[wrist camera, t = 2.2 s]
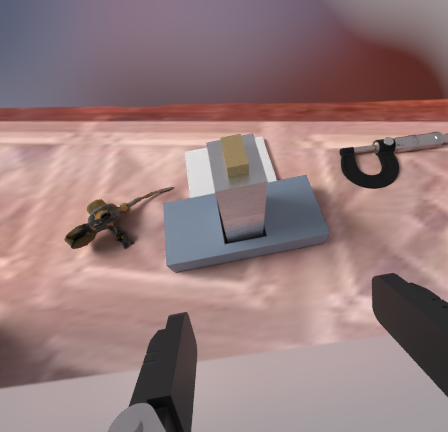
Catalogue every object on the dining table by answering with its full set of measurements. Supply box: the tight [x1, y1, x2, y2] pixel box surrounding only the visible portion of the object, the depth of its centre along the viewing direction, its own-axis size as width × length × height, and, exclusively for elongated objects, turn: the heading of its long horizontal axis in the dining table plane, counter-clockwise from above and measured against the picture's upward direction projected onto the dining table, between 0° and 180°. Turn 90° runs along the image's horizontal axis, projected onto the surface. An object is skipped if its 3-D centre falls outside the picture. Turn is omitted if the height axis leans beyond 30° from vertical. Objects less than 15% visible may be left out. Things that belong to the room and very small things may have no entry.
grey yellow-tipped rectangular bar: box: [206, 133, 268, 244], centre depth 24 cm, size 4×5×14 cm
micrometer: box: [340, 132, 448, 189], centre depth 32 cm, size 15×7×2 cm, turn 95°
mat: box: [185, 136, 277, 198], centre depth 35 cm, size 12×9×1 cm
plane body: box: [163, 175, 330, 272], centre depth 29 cm, size 18×8×3 cm, turn 100°
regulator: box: [65, 187, 173, 249], centre depth 32 cm, size 8×4×15 cm
